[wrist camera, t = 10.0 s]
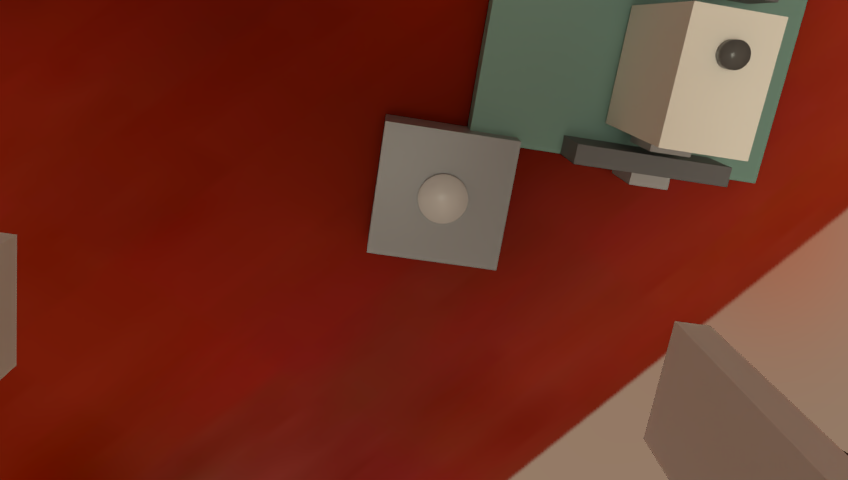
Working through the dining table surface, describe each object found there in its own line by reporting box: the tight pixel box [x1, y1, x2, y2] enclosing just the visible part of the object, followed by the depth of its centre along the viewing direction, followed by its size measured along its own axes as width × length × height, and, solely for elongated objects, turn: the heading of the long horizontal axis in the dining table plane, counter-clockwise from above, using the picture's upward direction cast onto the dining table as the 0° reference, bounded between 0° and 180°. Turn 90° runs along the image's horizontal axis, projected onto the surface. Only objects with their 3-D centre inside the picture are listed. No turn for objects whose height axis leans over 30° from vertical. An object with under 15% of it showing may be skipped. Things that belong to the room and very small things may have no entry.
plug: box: [606, 1, 788, 162], centre depth 34 cm, size 7×4×9 cm, turn 171°
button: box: [367, 114, 521, 270], centre depth 40 cm, size 7×7×3 cm
